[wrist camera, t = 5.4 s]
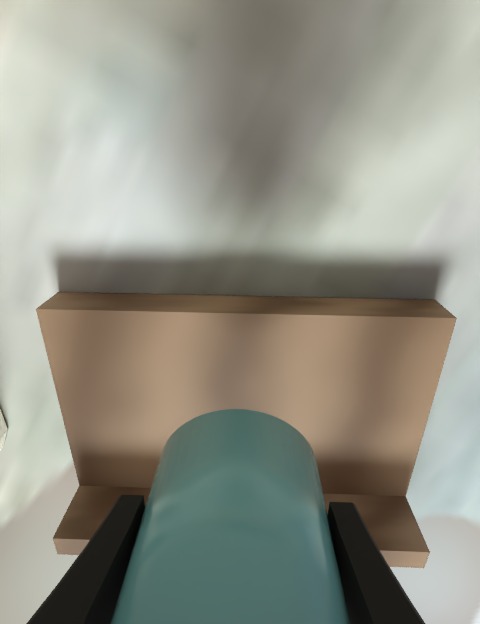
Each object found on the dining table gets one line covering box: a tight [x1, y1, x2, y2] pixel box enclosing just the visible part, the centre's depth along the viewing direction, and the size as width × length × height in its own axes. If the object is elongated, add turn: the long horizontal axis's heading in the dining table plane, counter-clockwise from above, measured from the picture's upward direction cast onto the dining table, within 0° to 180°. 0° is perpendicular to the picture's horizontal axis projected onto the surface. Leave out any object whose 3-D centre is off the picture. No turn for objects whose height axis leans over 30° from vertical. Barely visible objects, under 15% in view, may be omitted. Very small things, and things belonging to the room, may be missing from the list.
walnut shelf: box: [36, 292, 457, 568], centre depth 18 cm, size 18×12×5 cm, turn 89°
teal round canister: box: [110, 409, 350, 624], centre depth 9 cm, size 5×5×6 cm
